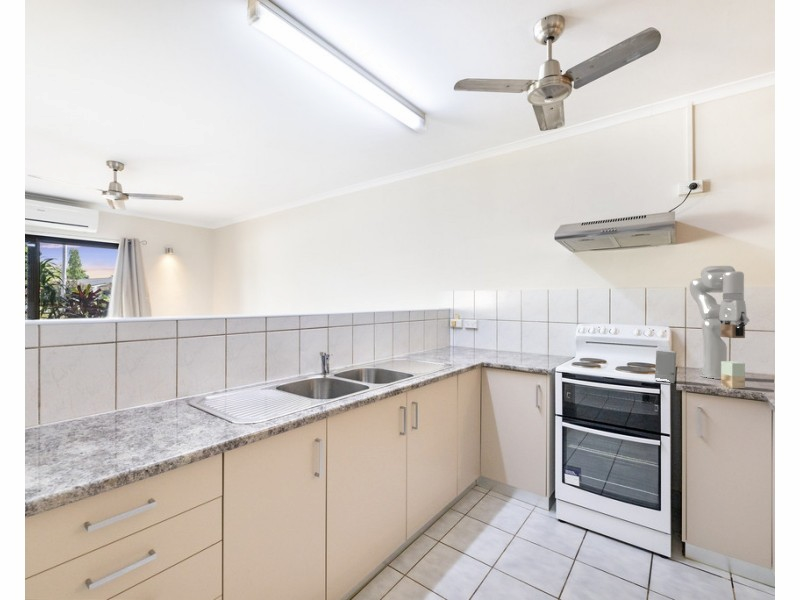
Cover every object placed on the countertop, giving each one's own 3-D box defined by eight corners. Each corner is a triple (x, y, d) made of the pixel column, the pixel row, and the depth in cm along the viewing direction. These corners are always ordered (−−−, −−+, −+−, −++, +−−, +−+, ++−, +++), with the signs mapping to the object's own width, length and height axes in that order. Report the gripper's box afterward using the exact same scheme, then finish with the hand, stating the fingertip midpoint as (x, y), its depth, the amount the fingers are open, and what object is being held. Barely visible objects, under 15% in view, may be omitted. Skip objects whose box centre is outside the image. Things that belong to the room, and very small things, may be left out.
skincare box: (654, 381, 192) (654, 350, 192) (656, 379, 197) (656, 349, 197) (675, 383, 186) (675, 351, 186) (676, 381, 192) (676, 350, 192)
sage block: (721, 373, 182) (721, 361, 182) (733, 373, 182) (733, 361, 182) (732, 376, 176) (732, 363, 176) (745, 376, 176) (745, 363, 176)
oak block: (721, 386, 182) (721, 373, 182) (733, 386, 182) (733, 373, 182) (732, 388, 176) (732, 376, 176) (744, 388, 176) (745, 376, 176)
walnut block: (721, 336, 182) (721, 324, 182) (733, 336, 182) (733, 324, 182) (732, 338, 176) (732, 325, 176) (744, 338, 176) (744, 325, 176)
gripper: (710, 297, 187) (710, 333, 187) (742, 297, 170) (741, 337, 170) (725, 297, 187) (725, 333, 188) (758, 297, 170) (758, 337, 170)
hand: (733, 334), depth 179 cm, fingers closed on walnut block, 6 cm apart
